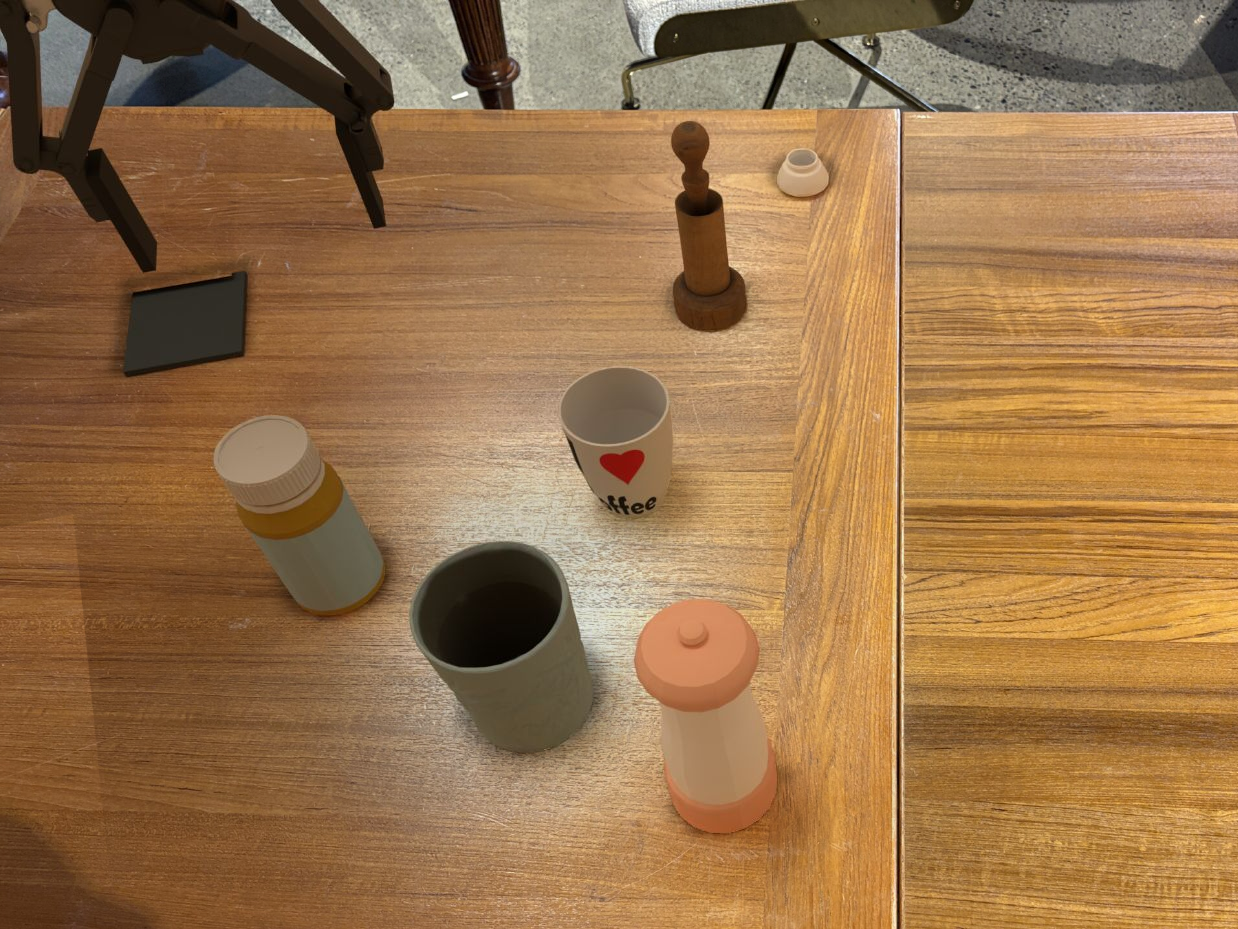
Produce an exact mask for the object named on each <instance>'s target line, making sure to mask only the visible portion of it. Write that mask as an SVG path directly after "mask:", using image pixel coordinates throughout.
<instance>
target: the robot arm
mask: <svg viewBox="0 0 1238 929" xmlns="http://www.w3.org/2000/svg"><path fill="white" fill-rule="evenodd" d="M269 1H270V2H271V3H272V5H273V6H274V8H275V9H276V10H277V11H278V13H280V15H281V16H282V17H283V19H285V20H286V21H287V22H288V23H289V24H290V25H291V26H292V27H293V28H294V29H295V30H296V31H297V32H298V33H299V34H300V35H301V36H302V37H303V38H305V40H306V41H307V42H309V44H311V46H313V48H315V49H316V51H318V52H319V53H320V54H321V56H323V58H325V60H327V61H328V62H329V64H331V65H332V66H333V67H334V68H335V69H336V70H337V71H338V72H337V71H335V70H334V69H332V68H331V67H329V66H327V65H326V64H324V63H323V62H321V61H320V60H319V59H317V58H315V57H314V56H312V55H311V54H309V53H307V52H306V51H304V50H303V49H301V48H300V47H298V46H296V45H295V44H294V43H292V42H291V41H289V40H287V39H286V38H284V37H283V36H282V35H280V34H278V33H276V32H275V31H274V30H272V29H270V28H269V27H267V26H266V25H265V24H263V23H261V22H260V21H258V20H256V19H255V17H253V16H252V14H251V13H250V11H248V10H247V9H246V8H245V7H244V6H242V5H241V4H239V3H238V2H236V1H235V0H0V32H1V34H2V37H3V38H4V41H5V42H6V55H7V58H6V59H7V72H8V74H7V76H8V91H9V109H10V127H11V128H10V129H11V142H12V143H11V144H12V160H13V161H12V162H13V165H14V167H15V169H16V170H18V172H21V173H23V174H26V175H34V174H37V173H38V172H39V171H48V172H52V173H53V172H54V173H56V174H58V175H60V176H62V177H63V178H64V179H65V181H66V182H67V183H68V185H69V186H70V188H71V190H72V191H73V192H74V194H75V196H76V197H77V199H78V201H79V202H80V204H81V206H82V207H83V209H84V210H85V212H86V214H87V215H88V216H89V217H90V218H91V219H92V220H93V221H95V222H96V223H102V222H106V221H108V222H109V221H110V222H111V224H112V226H114V228H115V230H116V232H117V233H118V235H119V236H120V238H121V240H122V241H123V243H124V245H125V246H126V248H127V249H128V251H129V253H130V254H131V256H132V257H133V259H134V261H135V262H136V264H137V265H138V268H139V269H140V270H141V272H142V273H143V274H145V273H150V272H155V271H157V261H158V260H157V259H158V258H157V256H158V241H157V240H156V238H155V236H154V234H153V232H152V231H151V229H150V227H149V226H148V224H147V222H146V221H145V219H144V217H143V216H142V214H141V213H140V211H139V209H138V207H137V205H136V203H135V202H134V201H133V199H132V197H131V195H130V193H129V191H128V190H127V189H126V187H125V185H124V183H123V182H122V180H121V178H120V177H119V175H118V173H117V171H116V169H115V168H114V166H113V165H112V163H111V161H110V159H109V158H108V156H107V154H106V153H105V151H104V149H103V147H98V148H93V149H90V147H91V144H92V141H93V138H94V136H95V133H96V129H97V126H98V124H99V121H100V117H101V115H102V112H103V109H104V106H105V104H106V101H107V98H108V95H109V92H110V90H111V87H112V83H113V82H114V80H115V78H116V77H117V72H118V70H119V67H120V64H121V61H122V58H123V56H125V57H127V58H130V59H132V60H136V61H137V60H138V61H140V62H141V64H142V65H148V64H155V63H159V62H161V61H163V60H165V59H167V58H170V57H186V58H187V57H188V58H191V57H197V56H202V55H205V50H206V49H208V48H209V47H211V46H212V47H213V48H215V49H217V50H219V51H220V52H222V53H223V54H225V55H227V56H228V57H230V58H232V59H234V60H237V61H240V60H243V61H245V62H246V63H248V64H250V65H251V66H252V67H254V68H256V69H258V70H259V71H261V72H262V73H264V74H266V75H267V76H269V77H270V78H272V79H273V80H275V81H277V82H279V83H280V84H282V85H283V86H285V87H287V88H288V89H290V90H292V91H293V92H295V93H296V94H298V95H299V96H301V97H302V98H304V99H306V100H307V101H309V102H311V103H313V104H314V105H316V106H317V107H319V108H321V109H323V110H324V111H326V112H327V113H329V114H331V115H332V116H333V117H334V118H333V119H334V128H335V135H336V138H337V140H338V142H339V145H340V148H341V150H342V152H343V156H344V158H345V161H346V163H347V165H348V168H349V170H350V173H351V175H352V177H353V181H354V182H355V185H356V188H357V190H358V193H359V195H360V198H361V200H362V203H363V205H364V207H365V211H366V212H367V215H368V217H369V220H370V223H371V224H372V227H373V230H375V229H381V228H386V227H387V221H386V214H385V205H384V199H383V196H382V194H381V192H380V191H381V190H380V188H379V186H378V184H377V183H378V182H377V181H376V178H375V176H374V173H373V172H377V171H382V170H384V165H385V159H384V158H385V157H384V151H383V146H382V143H381V140H380V138H379V135H378V133H377V130H376V126H375V124H374V122H373V121H374V120H373V119H372V117H373V116H374V114H376V113H377V112H379V111H382V112H387V111H388V112H389V111H390V110H392V109H393V107H394V106H395V103H396V102H395V95H394V89H393V82H392V77H391V76H392V75H391V74H390V73H389V71H388V69H386V68H385V67H384V66H383V65H382V64H381V63H380V62H379V61H378V60H377V59H376V58H375V56H373V55H372V53H370V51H368V50H367V48H365V46H364V45H363V44H362V43H361V42H360V41H359V40H358V39H357V38H356V37H355V36H354V35H353V34H352V33H351V32H350V31H349V30H348V29H347V28H346V27H345V25H344V24H342V23H341V22H340V20H338V18H336V17H335V16H334V15H333V13H332V12H331V11H330V10H329V9H328V8H327V7H326V6H325V5H324V4H323V3H322V2H321V1H320V0H269ZM55 10H56V11H57V12H58V13H59V14H60V15H62V16H63V17H64V18H66V19H68V20H69V21H70V22H72V23H74V24H75V25H77V26H78V27H80V28H81V29H82V30H83V31H85V32H86V33H89V34H90V37H89V42H88V45H87V49H86V52H85V55H84V58H83V61H82V64H81V67H80V71H79V74H78V77H77V79H76V83H75V86H74V89H73V91H72V95H71V98H70V101H69V104H68V108H67V111H66V114H65V117H64V120H63V123H62V126H61V129H60V130H59V131H58V137H56V136H47V135H44V119H43V96H42V94H43V92H42V68H41V67H42V66H41V65H42V64H41V63H42V62H41V38H40V36H41V35H40V33H41V32H43V31H45V30H46V29H47V27H48V22H49V13H50V12H52V11H55Z"/></svg>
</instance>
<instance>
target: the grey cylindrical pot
mask: <svg viewBox="0 0 1238 929" xmlns="http://www.w3.org/2000/svg"><path fill="white" fill-rule="evenodd" d="M408 622H409V630H410V632H411V636H412V639H413V641H414V643H415V646H416V647H417V648H418V649H419V651H420V652H421V654H422V655H423V657H424V658H425V659H426V660H427V661H428V663H429V664H430V666H431V667H432V669H434V671H435V673H437V675H438V676H439V677H440V678H441V680H442V681H443V682H444V683H445V684H446V685H447V686H448V688H449V689H450V691H452V692H453V693H454V695H455V699H456V700H457V701H458V702H459V703H460V704H461V706H462V707H463V709H465V710H466V711H467V713H468V714H469V716H470V717H471V720H472V722H473V724H474V726H475V728H477V730H478V731H479V733H480V734H481V735H482V736H483V737H484V738H485V740H487V741H489V742H490V743H491V744H495V745H496V746H495V745H494V746H495V747H498V748H500V749H502V750H505V749H507V751H509V752H514V751H516V752H515V753H525V752H528V753H533V752H532V751H535V752H534V753H537V752H536V751H538V750H544V749H547V750H549V749H548V748H550V749H552V748H551V747H553V746H555V747H557V746H556V745H558V744H559V743H561V742H563V741H564V742H566V741H567V740H568V739H567V738H569V737H570V736H571V735H572V736H574V735H575V734H576V733H577V732H578V731H579V730H580V729H581V728H582V726H583V725H584V723H585V722H586V721H587V719H588V717H589V715H590V713H591V710H592V707H593V706H592V705H593V703H594V697H595V696H594V694H595V688H594V682H593V678H592V674H591V672H590V669H589V664H588V659H587V654H586V651H585V646H584V643H583V641H582V634H581V631H580V627H579V623H578V619H577V616H576V612H575V609H574V603H573V599H572V596H571V593H570V588H569V584H568V581H567V579H566V576H565V574H564V572H563V570H562V568H561V566H560V565H559V563H558V562H557V561H556V560H555V559H554V558H553V556H551V555H549V554H548V553H547V552H545V551H544V550H541V549H540V548H538V547H536V546H534V545H531V544H527V543H524V542H521V541H519V542H518V541H512V540H496V541H495V540H494V541H488V542H487V541H486V542H482V543H477V544H474V545H470V546H468V547H465V548H463V549H461V550H459V551H457V552H454V553H451V555H449V556H447V557H445V558H444V559H443V560H441V561H440V562H439V563H438V564H436V565H435V566H434V567H433V568H432V569H430V570H429V572H428V573H427V574H426V575H424V577H423V579H422V580H421V581H420V582H419V584H418V586H417V588H416V589H415V592H414V594H413V596H412V598H411V603H410V607H409V612H408ZM592 702H593V703H592ZM589 712H590V713H589ZM588 714H589V715H588ZM587 716H588V717H587ZM586 718H587V719H586ZM584 721H585V722H584ZM582 724H583V725H582ZM581 725H582V726H581ZM580 727H581V728H580ZM579 728H580V729H579ZM578 729H579V730H578ZM577 730H578V731H577ZM576 731H577V732H576ZM575 732H576V733H575ZM574 733H575V734H574ZM573 734H574V735H573ZM572 736H571V737H572ZM571 737H570V738H571ZM570 738H569V739H570ZM566 739H567V740H566ZM565 740H566V741H565ZM564 742H563V743H564ZM561 744H562V743H561ZM559 745H560V744H559ZM559 745H558V746H559ZM553 748H554V747H553ZM544 751H545V750H544ZM538 752H539V751H538Z"/></svg>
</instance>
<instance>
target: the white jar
mask: <svg viewBox="0 0 1238 929" xmlns="http://www.w3.org/2000/svg"><path fill="white" fill-rule="evenodd" d="M829 177H830V174H829V172H828V170H827V169H826V167H825V166H824V164H823V162H822V161H821V159H820V158H819V156H818V154H817V152H815V151H814V150H812V149H810V148H804V147H803V148H802V147H801V148H796V149H792V150H791V151H789V152H788V153H787V155H786V158H785V160H784V161H783V163H782V164H781V166H780V168H779V171H778V172H777V178H776V184H777V186H778V188H779V190H781V191H782V192H783V193H785V194H787V195H789V196H794V197H796V198H799V197H801V198H802V197H803V198H806V197H807V198H808V197H811V196H816V195H817V194H819V193H822V192H823V191H824V190H825V189H826V188H827V186H829V179H830V178H829Z"/></svg>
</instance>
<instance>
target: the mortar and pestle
mask: <svg viewBox="0 0 1238 929" xmlns="http://www.w3.org/2000/svg"><path fill="white" fill-rule="evenodd" d="M709 136H710V135H709V134H708V131H707V129H706V128H705V127H704V126H703V125H702V124H701V123H700V122H697V121H695V120H686V121H682V122H680V123H679V124H677V125H676V126H675V128H674V129H673V131H672V133H671V136H670V137H671V138H670V146H671V149H672V151H673V153H674V154H675V156H676V157H677V159H678V160H679V161H680V162H681V163H682V164H683V166H684V171H683V173H682V174H681V176H680V179H681V183H682V185H683V189H684V190H683V191H681V192H680V193H679V194H677V196H676V197H675V200H674V208H675V216H676V221H677V226H678V233H679V241H680V249H681V256H682V263H683V264H682V265H683V271H682V272H680V273H679V274H678V275H677V276H676V277H675V279H674V281H673V284H672V297H673V305H674V310H675V314H676V316H677V317H678V319H679V320H680V321H681V322H682V323H683V324H684V325H685V326H688V327H689V328H692V329H694V330H698V331H704V332H713V331H720V330H724V329H727V328H730V327H732V326H734V325H736V324H737V323H739V322H740V321H741V320H742V319H743V317H744V316H745V314H746V312H747V309H748V301H747V291H746V289H747V288H746V282H745V280H744V277H743V276H742V274H740V272H739V271H738V270H736V269H735V268H733V267H731V266H730V262H729V253H728V244H727V233H726V220H725V209H724V200H723V197H722V195H721V194H720V193H719V192H718V191H717V190H714V189H712V188H709V187H710V173H709V172H708V171H707V170H706V169H704V168H703V164H704V162H705V159H706V157H707V155H708V153H709V150H710V144H711V142H710V137H709Z"/></svg>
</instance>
